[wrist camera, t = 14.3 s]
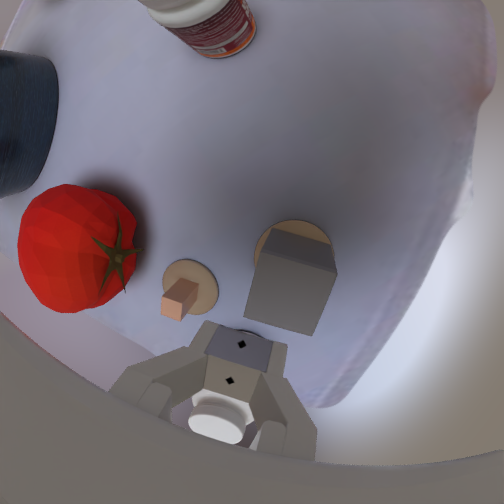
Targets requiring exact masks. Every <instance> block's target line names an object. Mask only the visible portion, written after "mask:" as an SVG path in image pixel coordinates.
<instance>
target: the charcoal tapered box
mask: <svg viewBox="0 0 504 504" xmlns="http://www.w3.org/2000/svg"><path fill="white" fill-rule="evenodd" d="M337 275H338V273H337V269H336V264H335V260H334V256H333V252H332V248H331V244H327V243H324V242H321V241H317V240H314V239H311V238H307V237H304V236H300V235H297V234H293V233H290V232H286V231H283V230H279V229H276V228H272V229H271V231H270V233H269V235H268V237H267V239H266V241H265V243H264V245H263V247H262V249H261V251H260V254H259V258H258V262H257V266H256V269H255V273H254V277H253V281H252V285H251V289H250V293H249V297H248V300H247V304H246V308H245V312H244V316H243V317H245V318H248V319H252V320H255V321H258V322H262V323H265V324H268V325H272V326H275V327H279V328H283V329H286V330H290V331H293V332H297V333H301V334H305V335H308V336H312V335H313V333H314V331H315V328H316V326H317V324H318V321H319V319H320V317H321V314H322V312H323V310H324V307H325V305H326V302H327V300H328V297H329V295H330V293H331V290H332V287H333V285H334V282H335V280H336V277H337Z"/></svg>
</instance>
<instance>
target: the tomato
mask: <svg viewBox="0 0 504 504" xmlns="http://www.w3.org/2000/svg"><path fill="white" fill-rule="evenodd" d="M136 225H137V222H136V220H135V217H134V215H133V214H132V213H131V212H130V211H129V210H128V209H127V208H126V207H125V206H124V205H123V204H122V202H121V201H120V200H119V199H118V198H117V197H116V196H113V195H111V194H108V193H105V192H103V191H100V190H97V189H87V188H84V187H81V186H77V185H70V184H63V185H60V186H56V187H53V188H50V189H48V190H46V191H45V192H43V193H42V194H40V195H39V196H37V197H36V198H34V199H33V200H32V201H31V203H30V204H29V206H28V207H27V209H26V210H25V212H24V214H23V216H22V219H21V224H20V230H19V236H18V244H17V247H18V257H19V265H20V268H21V271H22V273H23V276H24V279H25V281H26V283H27V284H28V286H29V287H30V288H31V290H32V291H33V293H34V294H35V296H36V297H37V299H38V300H39V301H40V302H41V303H42V304H43V305H45V306H46V307H48V308H50V309H52V310H54V311H56V312H60V313H76V312H79V311H81V310H84V309H89V308H95V307H98V306H101V305H104V304H105V303H107V302H108V301H109V300H111V299H112V298H113V297H114V296H116V295H117V294H118V293H119V292H120V291H122V290H123V289H124V290H125V286H126V284H127V282H128V281H129V279H130V277H131V276H132V274H133V272H134V270H135V266H136V255H137V254H136V253H137V252H140V251H143V250H144V249H135V248H134V245H133V243H132V240H133V236H134V232H135V229H136ZM125 293H126V292H125Z"/></svg>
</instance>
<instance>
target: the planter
mask: <svg viewBox="0 0 504 504" xmlns="http://www.w3.org/2000/svg"><path fill="white" fill-rule="evenodd" d="M57 105H58V82H57V76H56V72H55V69H54V67H53V65H52V63H51V62H50V61H49V60H48V59H46V58H44V57H41V56H35V55H30V54H25V53H19V52H13V51H7V50H0V198H3V197H6V196H9V195H12V194H15V193H19V192H22V191H24V190H26V189H27V188H29V187H30V186H31V185H32V184H33V183H34V181H35V180H36V178H37V177H38V175H39V173H40V171H41V169H42V167H43V165H44V163H45V160H46V157H47V154H48V151H49V148H50V145H51V141H52V137H53V132H54V127H55V122H56V115H57Z"/></svg>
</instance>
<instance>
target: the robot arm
mask: <svg viewBox="0 0 504 504" xmlns="http://www.w3.org/2000/svg"><path fill="white" fill-rule="evenodd" d="M287 348H288V346H287V344H284V343H280V342H276V341H271V340H267V339H264V338H260V337H257V336H253V335H250V334H247V333H244V332H241V331H238V330H235V329H232V328H229V327H226V326H223V325H219V324H217V323H214V322H211V321H209V320H206V321H204V323H203V324H202V326H201V327H200V329H199V331H198V332H197V334H196V336H195V337H194V339H193V341H192V342H191V344H190V345H189V347H185V346H183V347H181V348H178V349H176V350H173V351H170V352H168V353H165V354H162V355H160V356H157V357H154V358H152V359H149V360H146V361H143V362H140V363H137V364H135V365H132V366H129V367H127V368H126V369H125V371H124V372H123V373H122V375H121V376H120V377H119V378H118V380H117V381H116V382H115V383H114V385H113V386H112V387H111V389H110V390H109V391H108V392H107V391H105V390H104V389H102V388H100V387H99V386H97V385H95V384H94V383H92V382H90V381H89V380H87V379H86V378H84V377H82V376H81V375H79V374H78V373H76V372H75V371H73V370H72V369H70V368H69V367H68V366H66V365H65V364H63V363H62V362H60V361H59V360H58V359H56V358H55V357H53V356H52V355H51V354H50V353H48V352H47V351H46V350H44V349H43V348H42V347H40V346H39V345H38V344H37V343H35V342H34V341H33V340H32V339H31V338H29V337H28V336H27V335H26V334H25V333H24V332H22V331H21V330H20V329H19V328H18V327H17V326H16V325H15V324H13V323H12V322H11V321H10V320H9V319H8V318H7V317H6V316H5V315H4V314H3V313H2V312H1V311H0V504H504V450H495V451H492V452H488V453H484V454H480V455H476V456H471V457H466V458H461V459H455V460H449V461H442V462H434V463H425V464H414V465H395V466H365V465H345V464H333V463H323V462H315V452H316V440H317V428H316V426H315V425H314V423H313V422H312V420H311V418H310V417H309V415H308V413H307V412H306V410H305V408H304V407H303V405H302V403H301V402H300V400H299V398H298V397H297V395H296V393H295V392H294V390H293V388H292V386H291V385H290V383H289V381H288V380H287V378H283V373H284V367H285V361H286V354H287ZM202 389H206V390H209V391H212V392H215V393H219V394H222V395H225V396H228V397H231V398H234V399H237V400H240V401H243V402H247V403H249V407H250V410H251V412H252V415H253V418H254V421H255V424H256V426H257V429H258V433H257V435H256V437H255V439H254V440H253V442H252V444H251V446H250V447H249V449H248V448H244V447H240V446H236V445H233V444H229V443H226V442H223V441H220V440H216V439H213V438H210V437H207V436H204V435H202V434H199V433H196V432H193V431H190V430H188V429H185V428H183V427H180V426H178V425H175V424H173V423H172V408H173V407H174V406H176V405H178V404H180V403H181V402H183V401H185V400H186V399H188V398H190V397H191V396H193V395H195V394H196V393H198V392H200V391H201V390H202Z"/></svg>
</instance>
